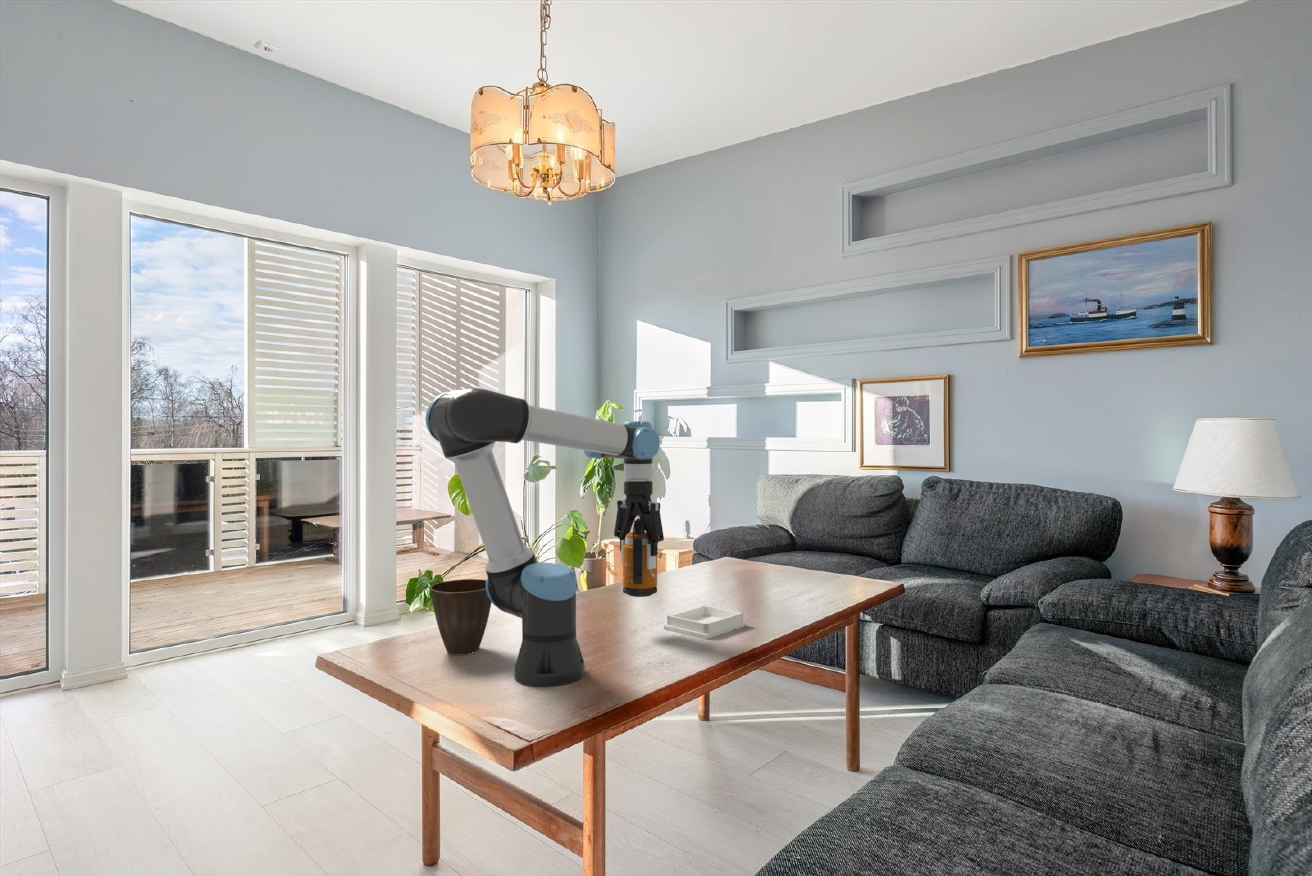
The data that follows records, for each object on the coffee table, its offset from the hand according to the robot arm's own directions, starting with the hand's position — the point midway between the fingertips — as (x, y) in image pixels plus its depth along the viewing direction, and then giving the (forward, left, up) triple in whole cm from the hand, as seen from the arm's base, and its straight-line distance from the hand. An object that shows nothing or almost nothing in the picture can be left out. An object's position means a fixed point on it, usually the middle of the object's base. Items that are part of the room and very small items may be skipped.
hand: (638, 566), depth 186 cm
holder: (+16, -9, -18) cm, 26 cm away
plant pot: (-39, +22, -18) cm, 48 cm away
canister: (0, -1, -8) cm, 8 cm away
